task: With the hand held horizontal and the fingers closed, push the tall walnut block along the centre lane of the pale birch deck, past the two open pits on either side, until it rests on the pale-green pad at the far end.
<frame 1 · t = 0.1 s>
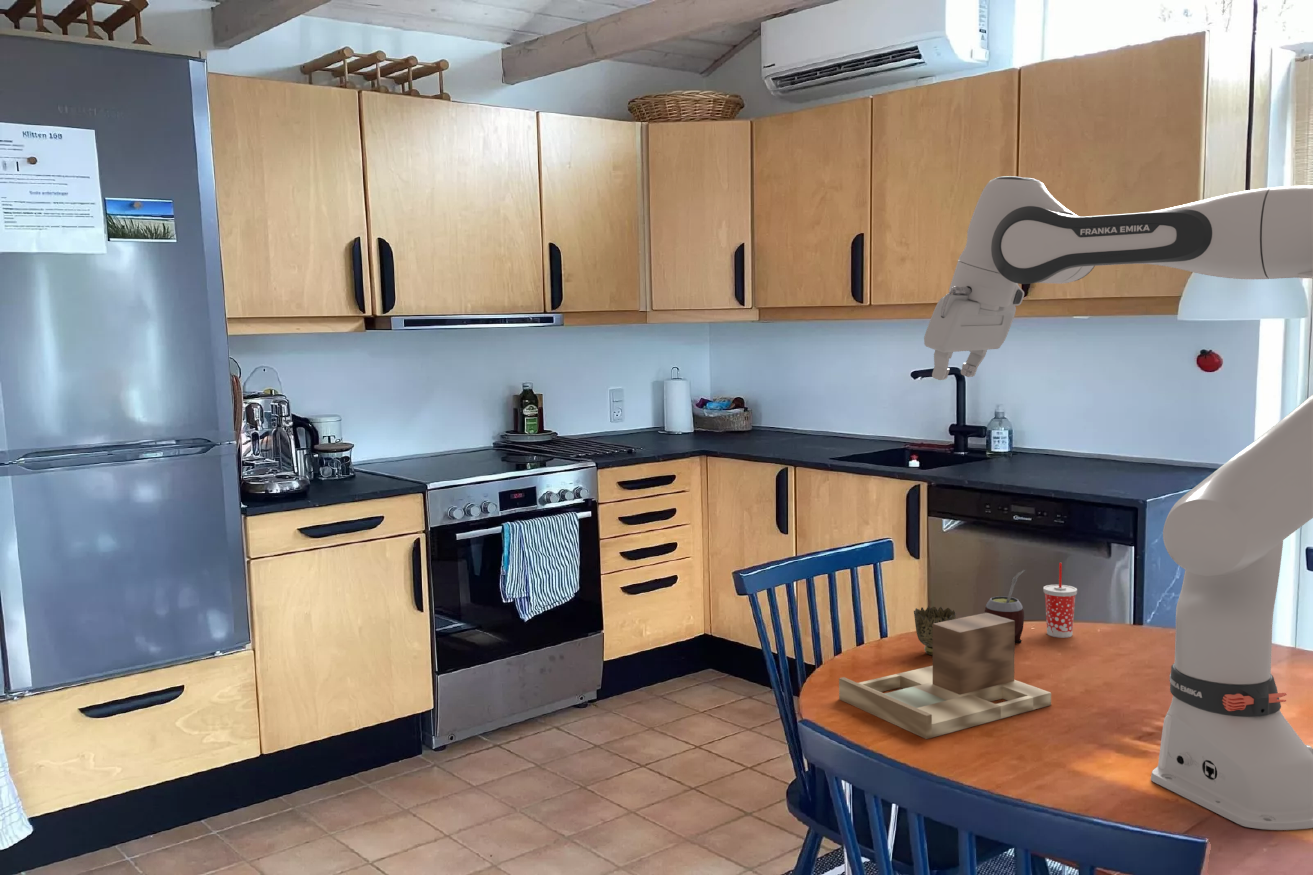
hand: (953, 377, 159), 52 cm above the table, tool tilted 20°, fingers open, 8 cm apart
beverage cup: (1059, 635, 205), on the table
block: (973, 682, 172), point 2 cm above the table, touching deck
deck: (943, 702, 169), on the table
mate gourd: (1006, 642, 201), on the table
cup: (934, 654, 194), on the table
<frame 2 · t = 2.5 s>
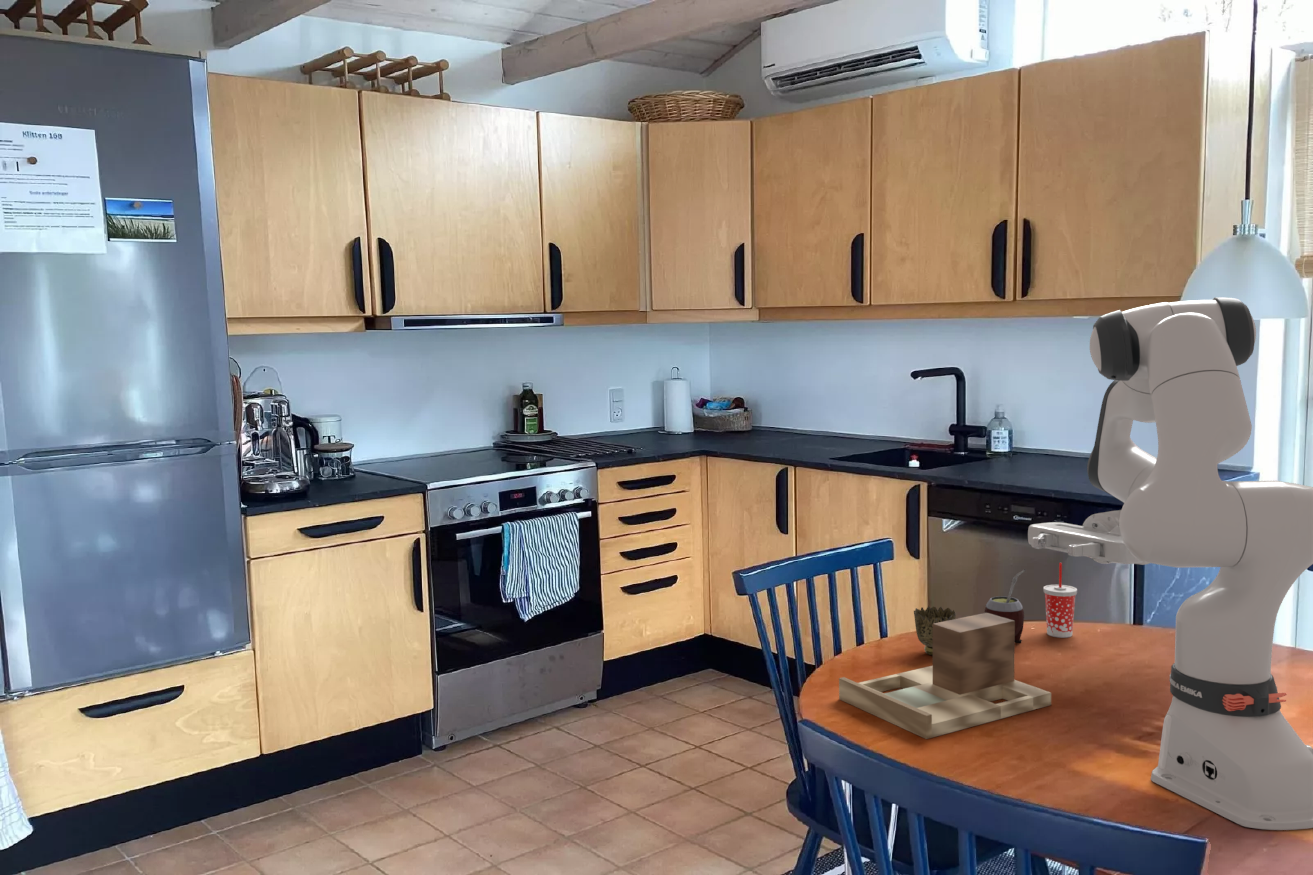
hand: (1052, 547, 179), 22 cm above the table, tool horizontal, fingers open, 6 cm apart
nothing on the table moved.
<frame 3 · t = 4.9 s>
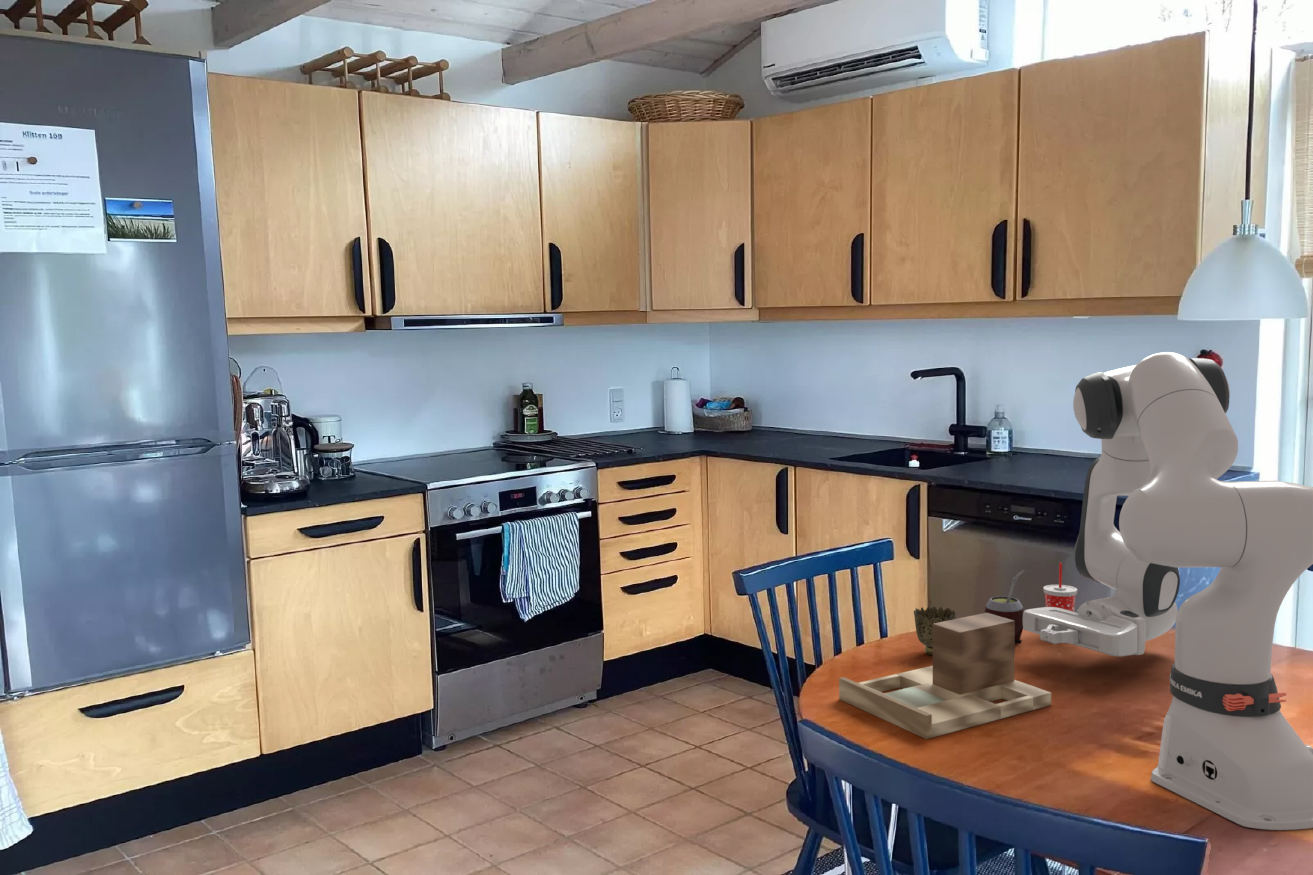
hand: (1046, 637, 180), 7 cm above the table, tool horizontal, fingers closed
nothing on the table moved.
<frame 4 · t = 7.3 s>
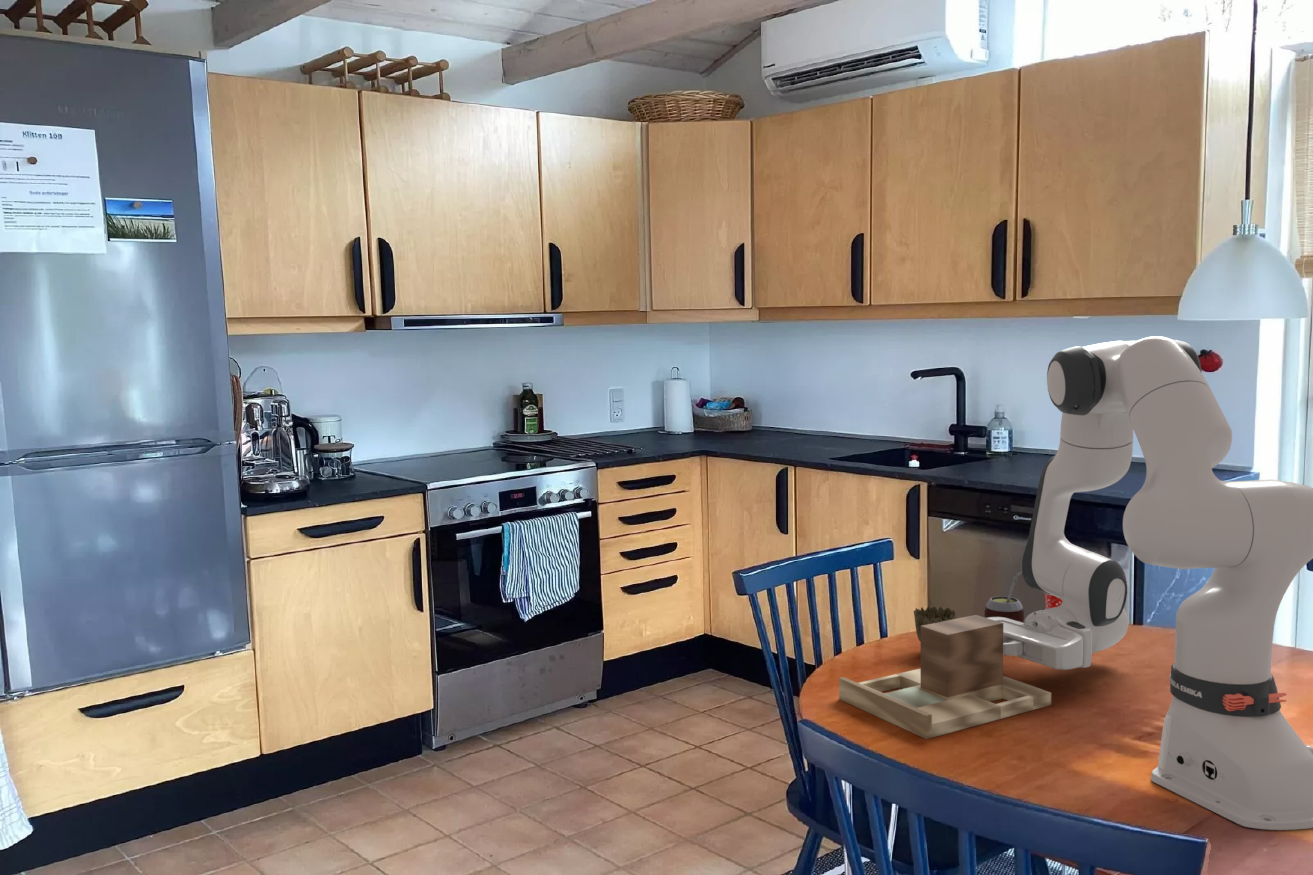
hand: (989, 649, 173), 7 cm above the table, tool horizontal, fingers closed, pressing on block
block: (961, 685, 171), point 2 cm above the table, touching gripper
everything else where it was.
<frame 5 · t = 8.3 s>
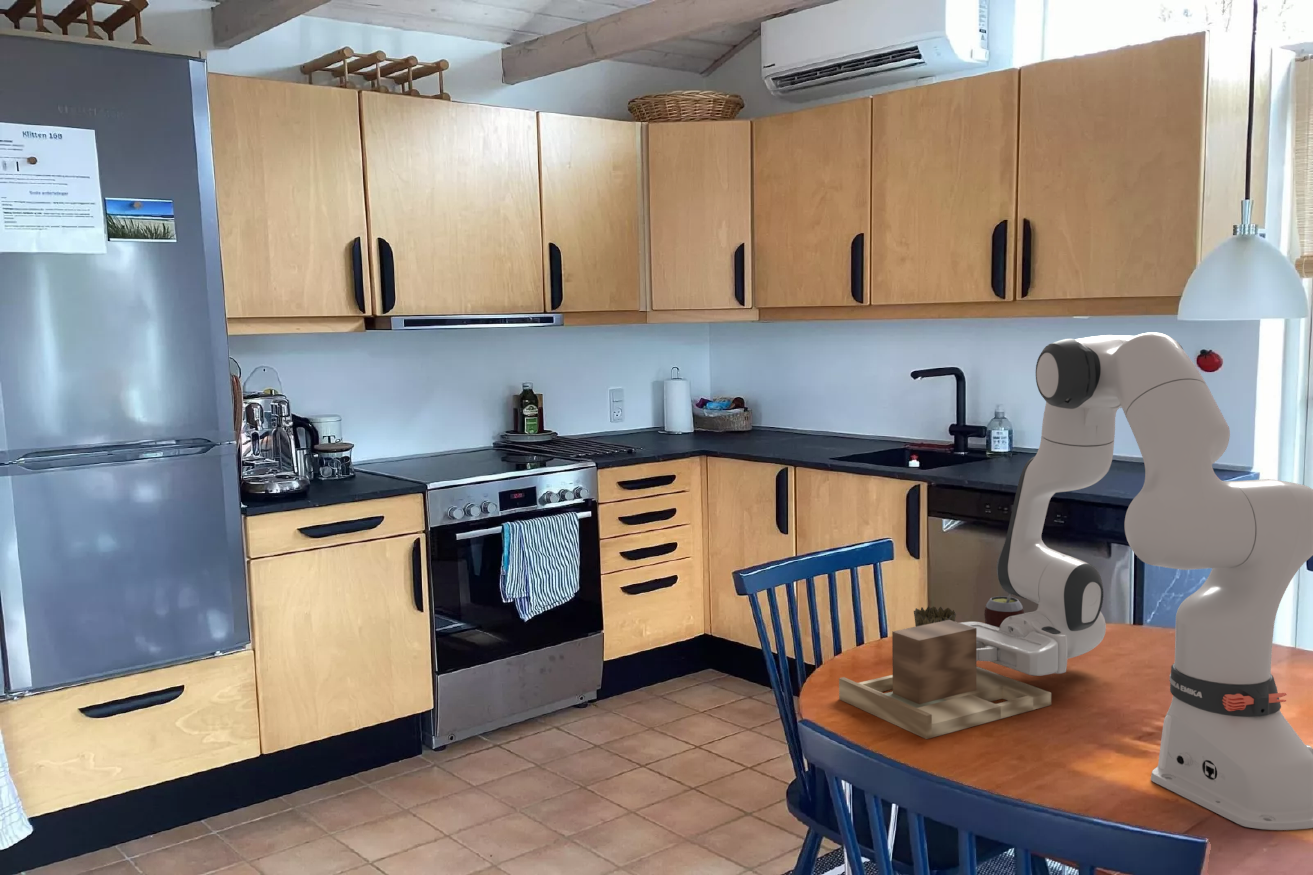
hand: (963, 654, 171), 7 cm above the table, tool horizontal, fingers closed
block: (934, 691, 168), point 2 cm above the table
everything else where it was.
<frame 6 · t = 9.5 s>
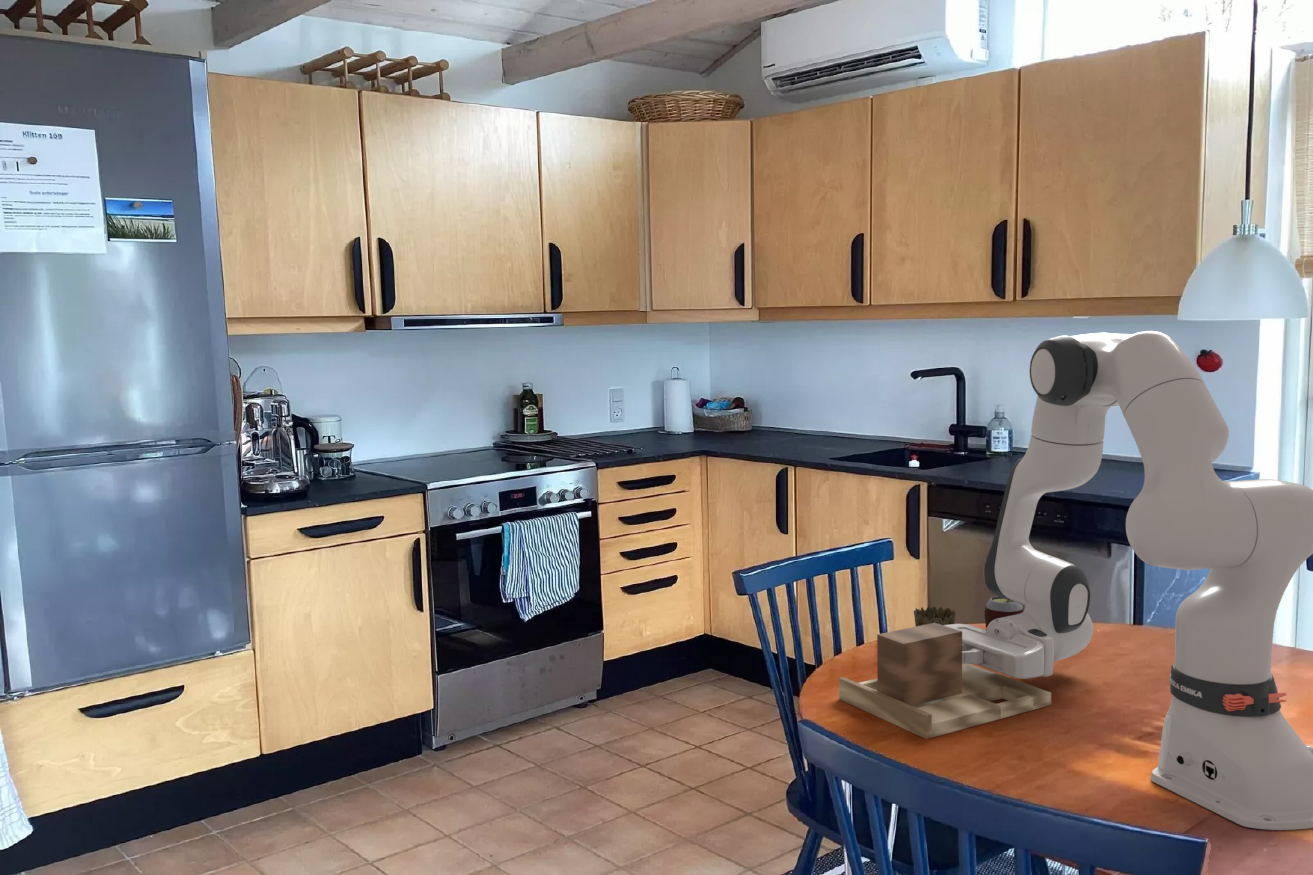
hand: (949, 657, 169), 7 cm above the table, tool horizontal, fingers closed, pressing on block
block: (919, 695, 167), point 2 cm above the table, touching deck, gripper
everything else where it was.
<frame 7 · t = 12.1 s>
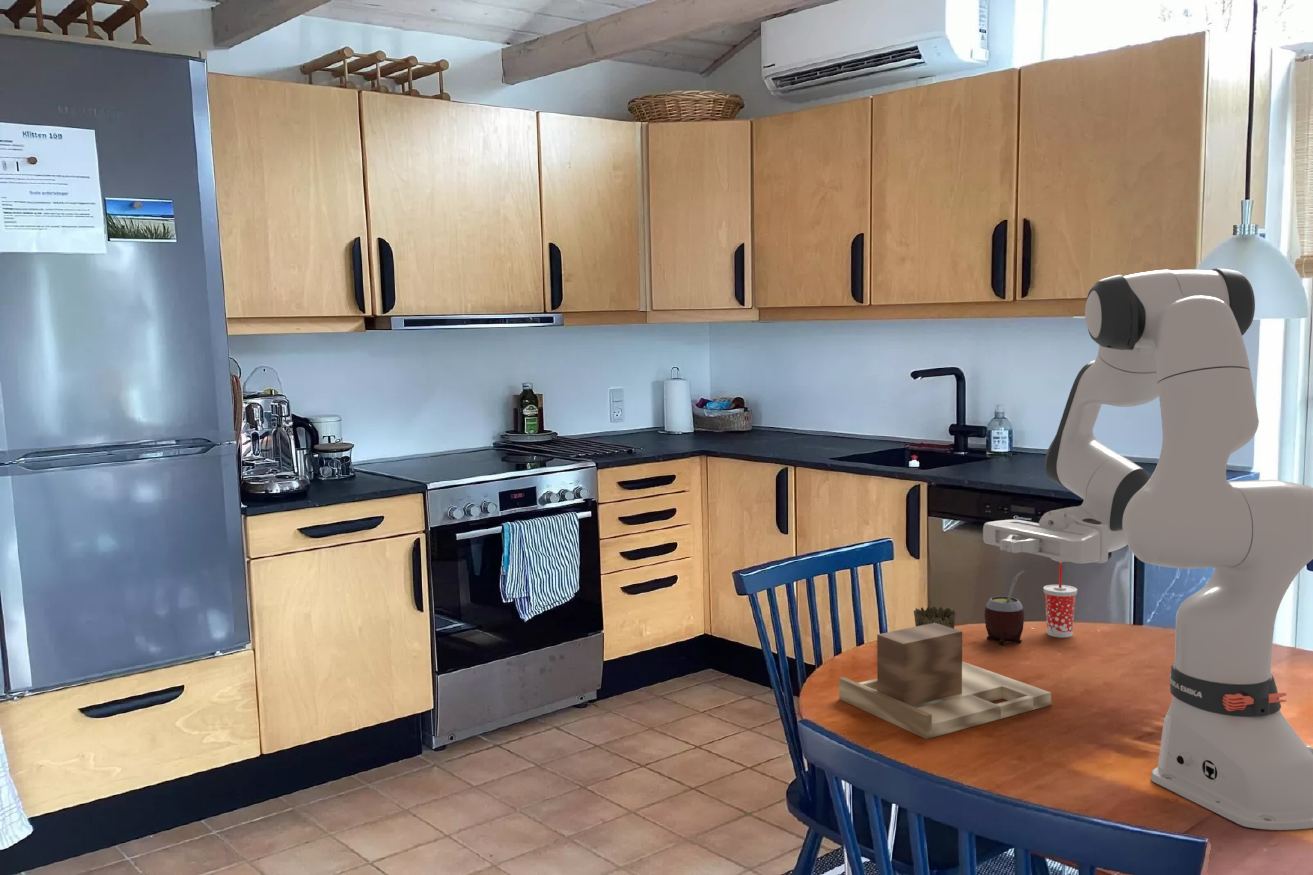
hand: (1006, 546, 173), 24 cm above the table, tool horizontal, fingers closed
block: (919, 695, 167), point 2 cm above the table, touching deck
everything else where it was.
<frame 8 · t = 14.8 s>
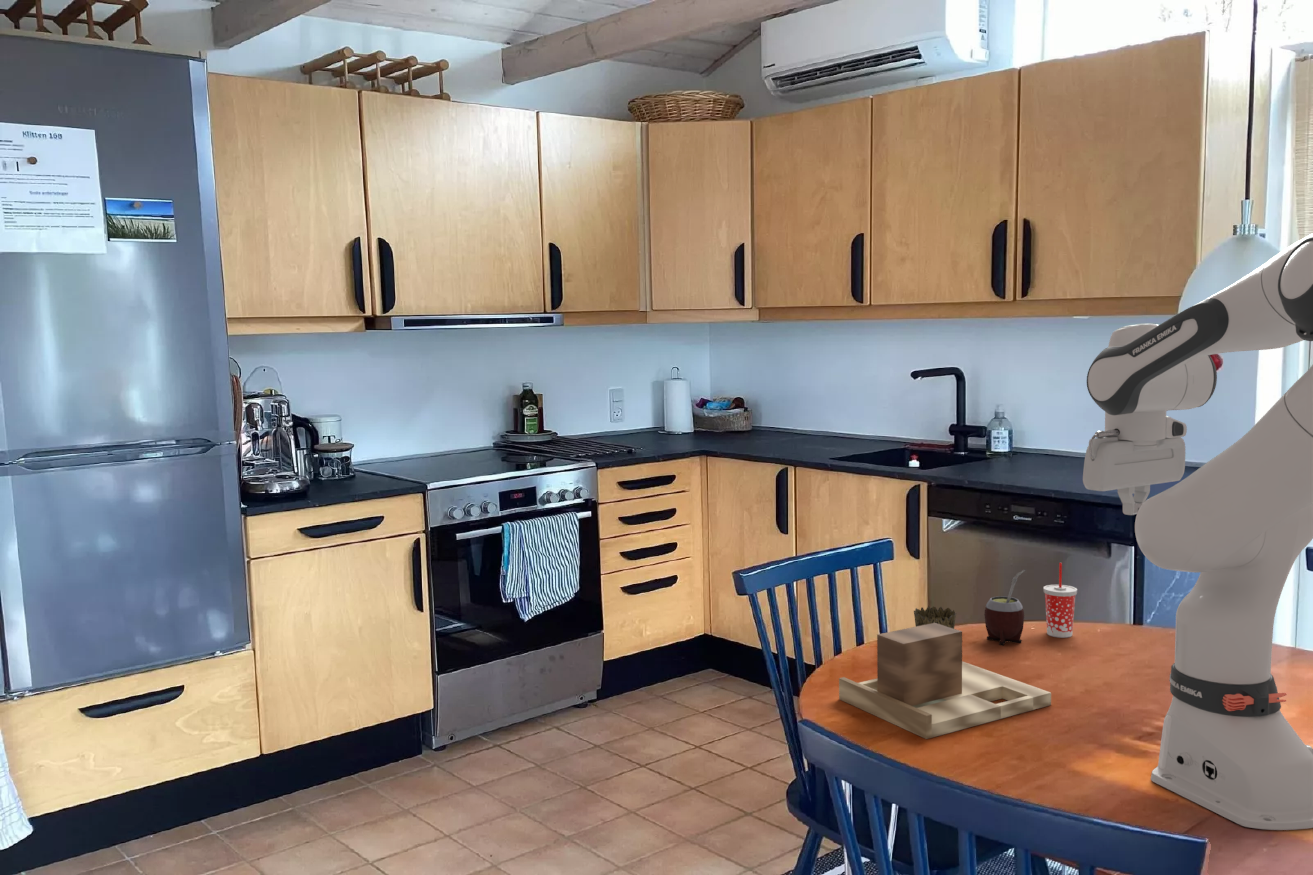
hand: (1133, 513, 169), 29 cm above the table, tool pointing down, fingers closed
nothing on the table moved.
at the end: block inside the target area (0.3 cm from its centre), point 2.0 cm above the table; block tilted 0°; block moved 11.3 cm from its start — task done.
